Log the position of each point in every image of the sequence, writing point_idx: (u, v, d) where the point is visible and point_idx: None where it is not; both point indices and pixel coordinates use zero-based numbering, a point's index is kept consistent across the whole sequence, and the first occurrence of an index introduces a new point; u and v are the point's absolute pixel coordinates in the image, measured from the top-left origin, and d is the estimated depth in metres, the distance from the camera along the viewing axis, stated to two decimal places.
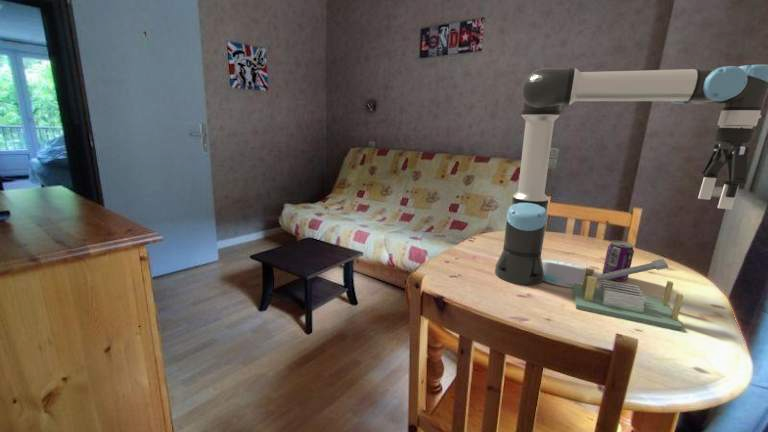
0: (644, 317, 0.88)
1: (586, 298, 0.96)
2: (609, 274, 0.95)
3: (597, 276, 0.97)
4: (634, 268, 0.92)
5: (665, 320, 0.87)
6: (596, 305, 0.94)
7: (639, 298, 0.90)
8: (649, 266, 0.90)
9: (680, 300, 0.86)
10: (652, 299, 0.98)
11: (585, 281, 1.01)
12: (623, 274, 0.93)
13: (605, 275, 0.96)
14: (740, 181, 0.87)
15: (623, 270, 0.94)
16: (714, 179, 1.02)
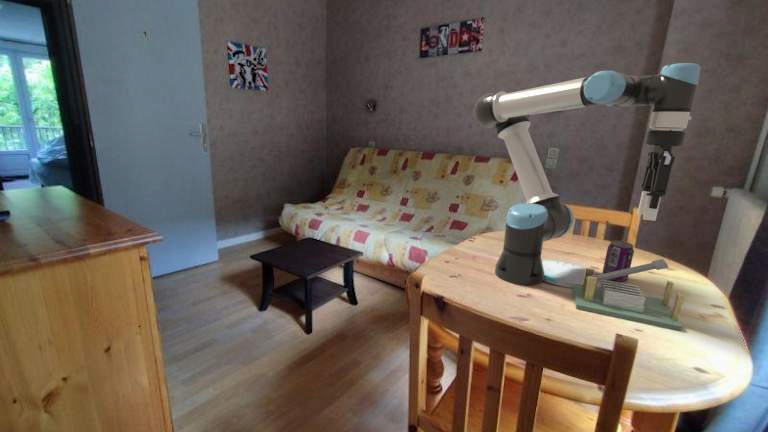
0: (644, 317, 0.88)
1: (586, 298, 0.96)
2: (609, 274, 0.95)
3: (597, 276, 0.97)
4: (634, 268, 0.92)
5: (665, 320, 0.87)
6: (596, 305, 0.94)
7: (639, 298, 0.90)
8: (649, 266, 0.90)
9: (680, 300, 0.86)
10: (652, 299, 0.98)
11: (585, 281, 1.01)
12: (623, 274, 0.93)
13: (605, 275, 0.96)
14: (660, 193, 0.86)
15: (623, 270, 0.94)
16: None
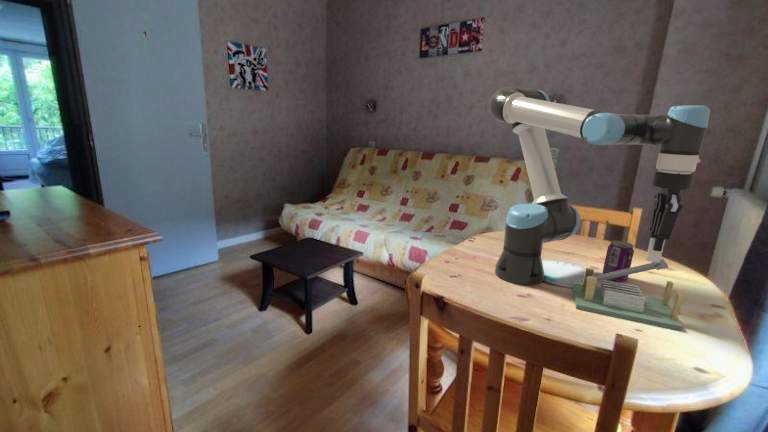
0: (644, 317, 0.88)
1: (586, 298, 0.96)
2: (609, 274, 0.95)
3: (597, 276, 0.97)
4: (634, 268, 0.92)
5: (665, 320, 0.87)
6: (596, 305, 0.94)
7: (639, 298, 0.90)
8: (649, 266, 0.90)
9: (680, 300, 0.86)
10: (652, 299, 0.98)
11: (585, 281, 1.01)
12: (623, 274, 0.93)
13: (605, 275, 0.96)
14: (664, 237, 0.85)
15: (623, 270, 0.94)
16: None
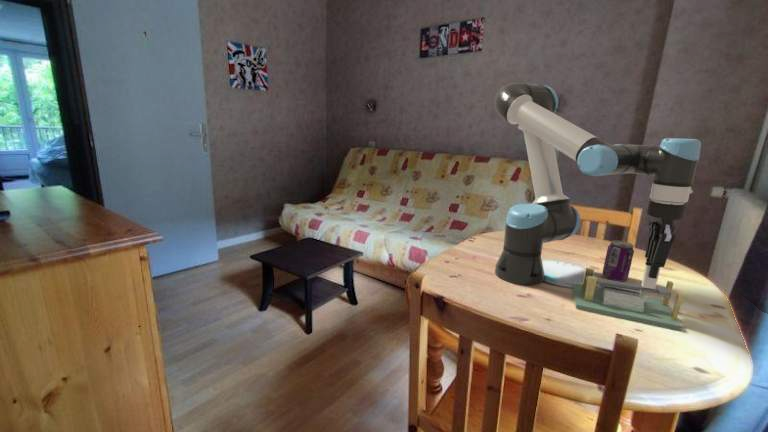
0: (644, 317, 0.88)
1: (586, 298, 0.96)
2: (611, 282, 0.95)
3: (598, 279, 0.97)
4: (637, 285, 0.93)
5: (665, 320, 0.87)
6: (596, 305, 0.94)
7: (639, 298, 0.90)
8: (652, 289, 0.91)
9: (680, 300, 0.86)
10: (652, 299, 0.98)
11: (585, 281, 1.01)
12: (624, 287, 0.93)
13: (607, 281, 0.96)
14: (658, 266, 0.87)
15: (625, 283, 0.95)
16: None
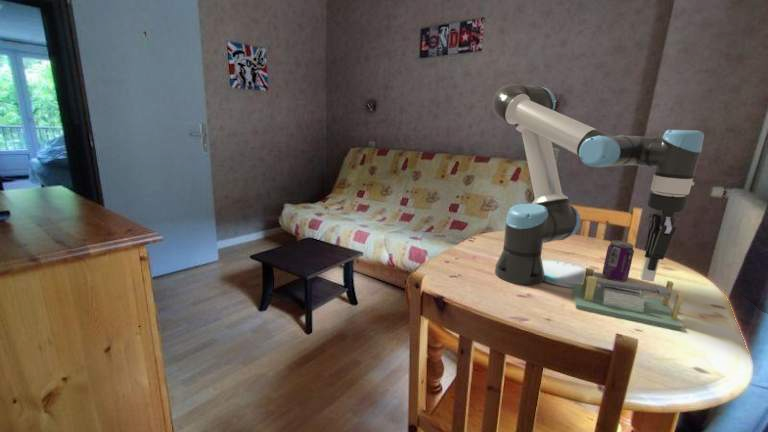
0: (644, 317, 0.88)
1: (586, 298, 0.96)
2: (611, 282, 0.95)
3: (598, 279, 0.97)
4: (637, 285, 0.93)
5: (665, 320, 0.87)
6: (596, 305, 0.94)
7: (639, 298, 0.90)
8: (652, 289, 0.91)
9: (680, 300, 0.86)
10: (652, 299, 0.98)
11: (585, 281, 1.01)
12: (624, 287, 0.93)
13: (607, 281, 0.96)
14: (658, 258, 0.87)
15: (625, 283, 0.95)
16: None
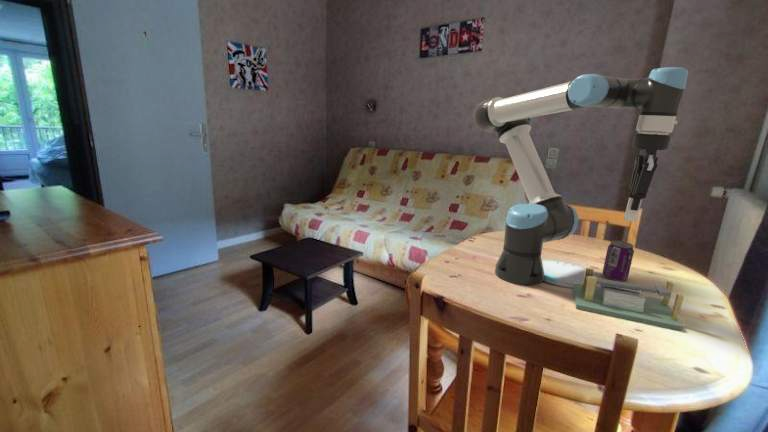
0: (644, 317, 0.88)
1: (586, 298, 0.96)
2: (611, 282, 0.95)
3: (598, 279, 0.97)
4: (637, 285, 0.93)
5: (665, 320, 0.87)
6: (596, 305, 0.94)
7: (639, 298, 0.90)
8: (652, 289, 0.91)
9: (680, 300, 0.86)
10: (652, 299, 0.98)
11: (585, 281, 1.01)
12: (624, 287, 0.93)
13: (607, 281, 0.96)
14: (640, 196, 0.89)
15: (625, 283, 0.95)
16: None
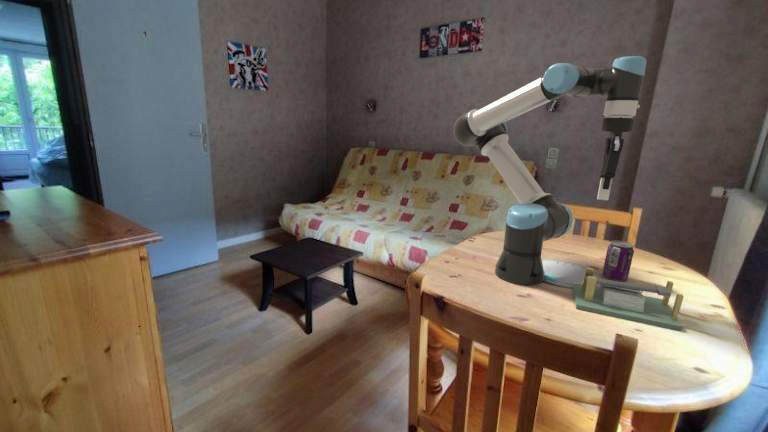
0: (644, 317, 0.88)
1: (586, 298, 0.96)
2: (611, 282, 0.95)
3: (598, 279, 0.97)
4: (637, 285, 0.93)
5: (665, 320, 0.87)
6: (596, 305, 0.94)
7: (639, 298, 0.90)
8: (652, 289, 0.91)
9: (680, 300, 0.86)
10: (652, 299, 0.98)
11: (585, 281, 1.01)
12: (624, 287, 0.93)
13: (607, 281, 0.96)
14: (610, 176, 0.97)
15: (625, 283, 0.95)
16: None
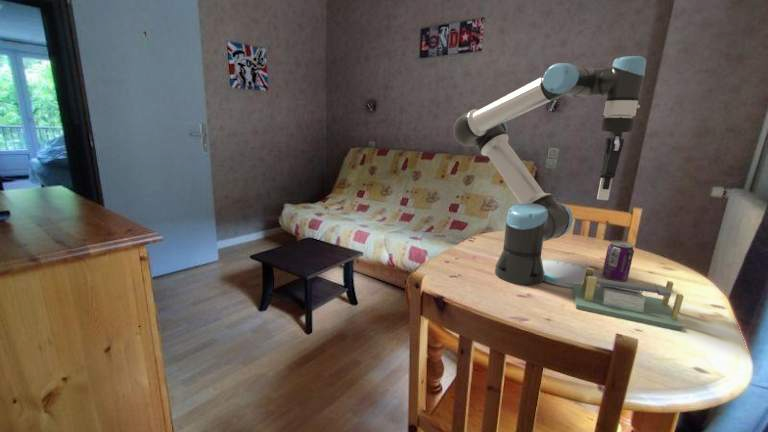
0: (644, 317, 0.88)
1: (586, 298, 0.96)
2: (611, 282, 0.95)
3: (598, 279, 0.97)
4: (637, 285, 0.93)
5: (665, 320, 0.87)
6: (596, 305, 0.94)
7: (639, 298, 0.90)
8: (652, 289, 0.91)
9: (680, 300, 0.86)
10: (652, 299, 0.98)
11: (585, 281, 1.01)
12: (624, 287, 0.93)
13: (607, 281, 0.96)
14: (610, 175, 0.97)
15: (625, 283, 0.95)
16: None
